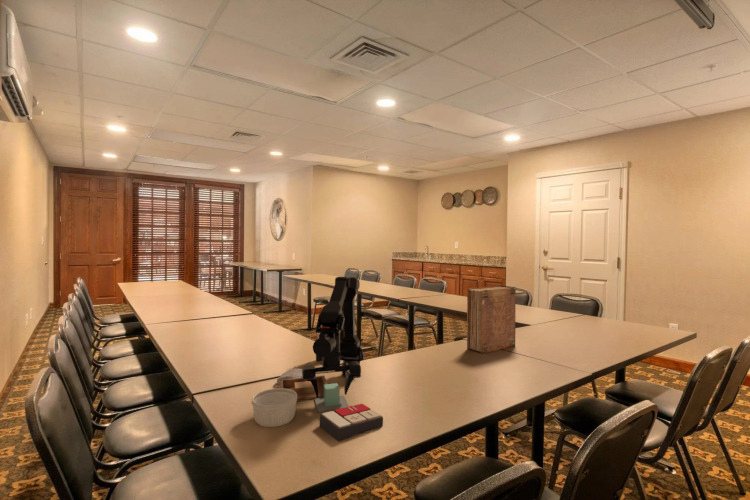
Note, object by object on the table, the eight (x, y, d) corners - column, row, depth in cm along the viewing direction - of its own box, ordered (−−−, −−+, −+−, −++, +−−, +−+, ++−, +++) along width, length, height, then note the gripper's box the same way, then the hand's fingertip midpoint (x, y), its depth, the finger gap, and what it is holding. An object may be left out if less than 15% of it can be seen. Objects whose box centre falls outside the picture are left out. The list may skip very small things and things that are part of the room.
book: (481, 353, 185) (481, 290, 184) (466, 349, 192) (466, 288, 192) (515, 345, 199) (515, 287, 198) (500, 342, 206) (500, 285, 206)
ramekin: (287, 431, 109) (286, 407, 109) (243, 427, 112) (243, 403, 112) (303, 411, 122) (303, 389, 122) (264, 408, 125) (264, 386, 125)
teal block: (337, 399, 130) (337, 383, 130) (339, 405, 126) (339, 388, 126) (323, 401, 129) (323, 384, 129) (325, 406, 125) (325, 389, 125)
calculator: (383, 414, 112) (338, 426, 104) (383, 429, 112) (338, 442, 104) (362, 401, 121) (319, 411, 113) (362, 415, 121) (318, 426, 113)
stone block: (275, 391, 144) (301, 387, 142) (273, 378, 144) (298, 374, 142) (288, 381, 155) (311, 377, 154) (286, 369, 156) (309, 365, 154)
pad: (343, 396, 134) (343, 395, 134) (349, 408, 124) (349, 407, 124) (314, 399, 131) (314, 398, 131) (318, 412, 121) (318, 411, 121)
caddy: (324, 384, 145) (324, 375, 145) (328, 397, 133) (328, 387, 133) (279, 389, 141) (279, 379, 141) (280, 402, 129) (280, 391, 129)
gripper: (354, 340, 137) (354, 384, 138) (300, 344, 133) (300, 389, 133) (361, 348, 127) (361, 396, 127) (303, 353, 122) (303, 402, 122)
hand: (331, 395), depth 128 cm, fingers open, 9 cm apart
